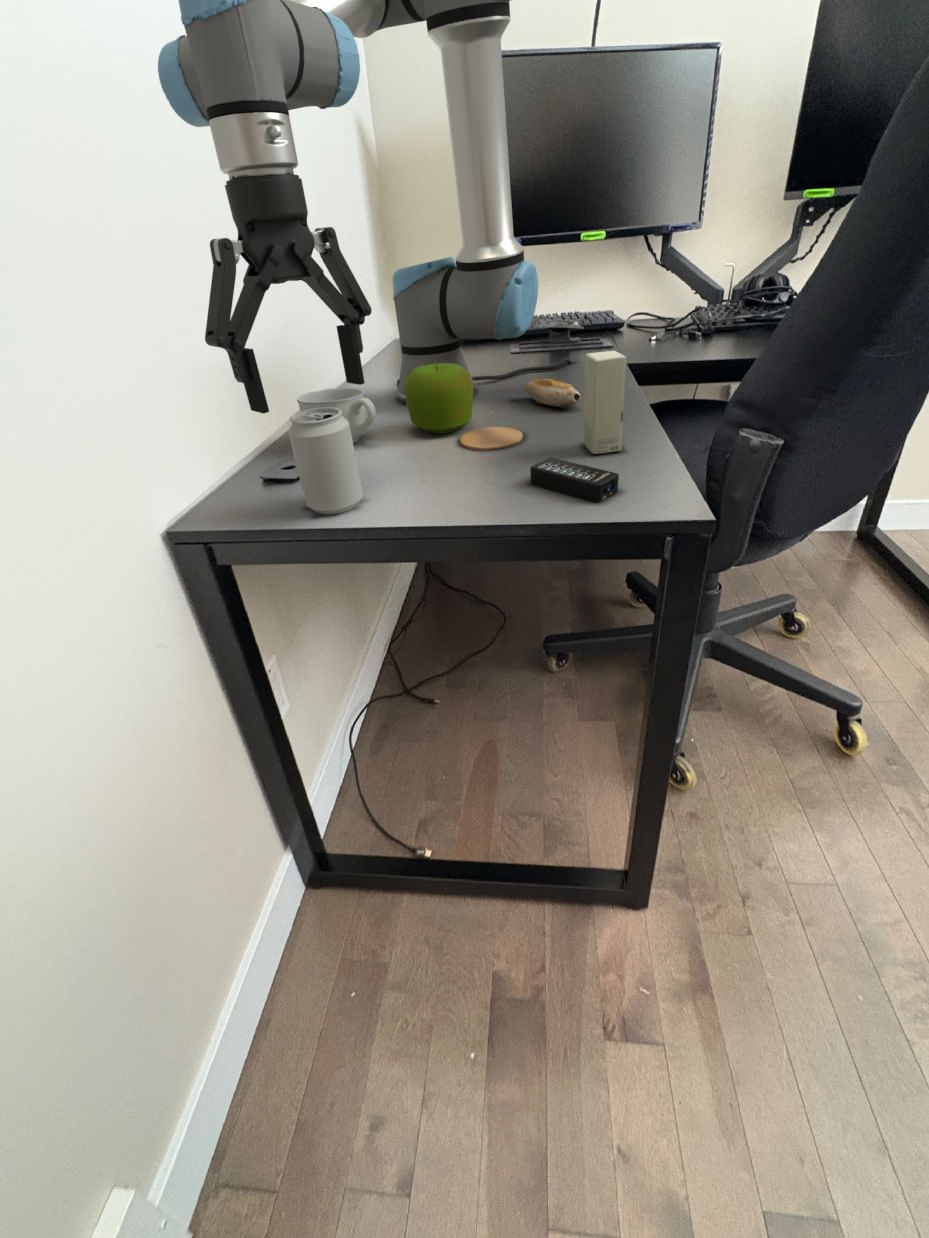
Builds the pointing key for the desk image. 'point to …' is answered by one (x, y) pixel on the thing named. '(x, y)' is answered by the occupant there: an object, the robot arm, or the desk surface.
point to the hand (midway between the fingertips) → (310, 396)
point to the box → (604, 401)
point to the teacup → (343, 407)
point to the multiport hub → (574, 479)
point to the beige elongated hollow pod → (552, 392)
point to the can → (325, 460)
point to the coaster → (491, 438)
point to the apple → (439, 397)
